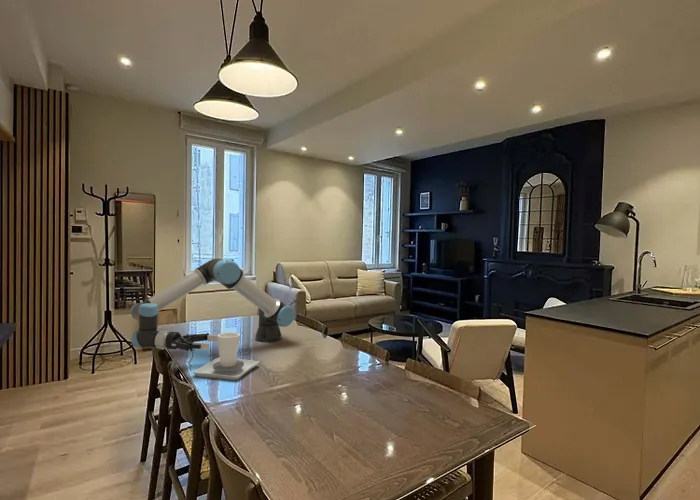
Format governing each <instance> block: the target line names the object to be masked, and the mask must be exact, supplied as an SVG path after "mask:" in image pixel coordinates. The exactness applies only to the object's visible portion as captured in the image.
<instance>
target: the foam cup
mask: <svg viewBox="0 0 700 500" xmlns="http://www.w3.org/2000/svg"><path fill="white" fill-rule="evenodd" d="M217 335H218V336H217V341H218V342H217V341H216V342H217V345H218V346H217V347H218V353H219V354H218V355H219V356H218V357H220V364H221V366H225V367H228V366H233V365H235V364H236V359H238V350H239V347H240V346H239V344H240V340H241V334H240V333H239V332H230V331H229V332H221V333H219V334H217Z"/></svg>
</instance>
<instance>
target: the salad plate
mask: <svg viewBox="0 0 700 500" xmlns="http://www.w3.org/2000/svg"><path fill="white" fill-rule="evenodd" d="M236 360H239V361H242V362H243V363H244V366H243V367H242V368H240V369H237V370H233V371H217V370H214V369H213V364H214V363H216V362H219V361H220V356H218V357H216V358H215V359H212V360H211V361H210V362H207V363H205V364H204V365H202V366H200V367H199V368H197V369H195V370H193V371H192V374H194V375H195V376H197V377H200V378H202V377H203V378H209V379H220V380H230V381H237V380H239V379H241V377H243V376H244V375H245V374H247V373H248V372H250V371H251V370H253V369H254V368H255V367H257V366H258V365H259V364H260V361H259V360H251V359H243V358H237V359H236Z"/></svg>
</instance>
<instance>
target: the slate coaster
mask: <svg viewBox="0 0 700 500" xmlns="http://www.w3.org/2000/svg"><path fill="white" fill-rule="evenodd" d="M243 366H244V363H243V362H242V361H239V360H236V364H235V365H233V366H228V367H225V366H221V364H220V361H219V362H216V363H214V364H213V369H214V370H217V371H233V370H237V369H240V368H242V367H243Z"/></svg>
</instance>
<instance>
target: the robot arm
mask: <svg viewBox="0 0 700 500" xmlns="http://www.w3.org/2000/svg"><path fill="white" fill-rule="evenodd" d="M193 271H194V272H191V273H190V274H188V275H187V276H185V277H184V278H181V279H180V280H178V281H177V282H175V283H173V284H171V285H169V286H168V287H166V288H165V289H163V290H161V291H159V292H158V293H156V294H155V295H152V296H150V297H149V298H148V299H146V300H144V301H142V302H139V303H135V304H134V305H132V306H131V308H130V315H131V317H132V319H134V320H136V321H137V322H138V329H137V330H134V332H133V333H132V337H131V345H133V347H135V348H142V349H160V350H162V351H163V350H177V349H180V350H182V351H189V352H193V351H194V350H201V351H204V350H205V351H210V342H216V343H218V341H217V336H218V334H210V333H209V332H207V333H197V334H196V333H193V334H191V333H190V334H185V335H183V336H182V335H181V333H180V332H179V331H166V330H165V331H164V330H162V331H161V330H158V317H159V311H161V310H163V309H165V308H166V307H168V306H169V305H171V304H173V303H175V302H176V301H177V300H180V299H181V298H183V297H184V296H186V295H188V294H189V293H191V292H193V291H195V290H196V289H197V288H199V287H201V286H202V285H204V286H206V285H207V284H209V283H212V282H217V283H219V284H220V285H222V286H224V287H225V288H226V289H228V290H231V289H233V290H234V291H235V292H237V293H238V294H239V295H241V296H242V297H243V298H245V299H246V300H248V301H249V302H250V303H251V304H253V305H254V306H255V307H257V308H258V328H257V330H256V332H255V337H254V339H255V341H256V342H262V343H272V342H278V341H281V340H282V332H281V329H280V327H284V328H286V327H289V326H291V324H292V323H294V319H295V316H296V314H295V313H296V312H295V310H294V308H293V306H291V305H287V304H285V303H284V302H283V301H281V300H280V299H279V298H273V297H272V296H270V295H269V294H268V293H267V292H265V291H264V289H261V287H259V286H258V285H256V284H255V283H254V282H253V281H251V280H250V279H249V278H248V277H246V276H245V273H244V271H243V270H242V269H241V268H240V266H239V264H237V263H236V262H235V261H233V260H231V259H227V258H225V259H224V258H223V259H222V258H213V259H211V260H208V261H206V262H204V263H203V264H201V265H199V266H198V267H196V268H195V269H194V270H193ZM204 341H207V342H204Z"/></svg>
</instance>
